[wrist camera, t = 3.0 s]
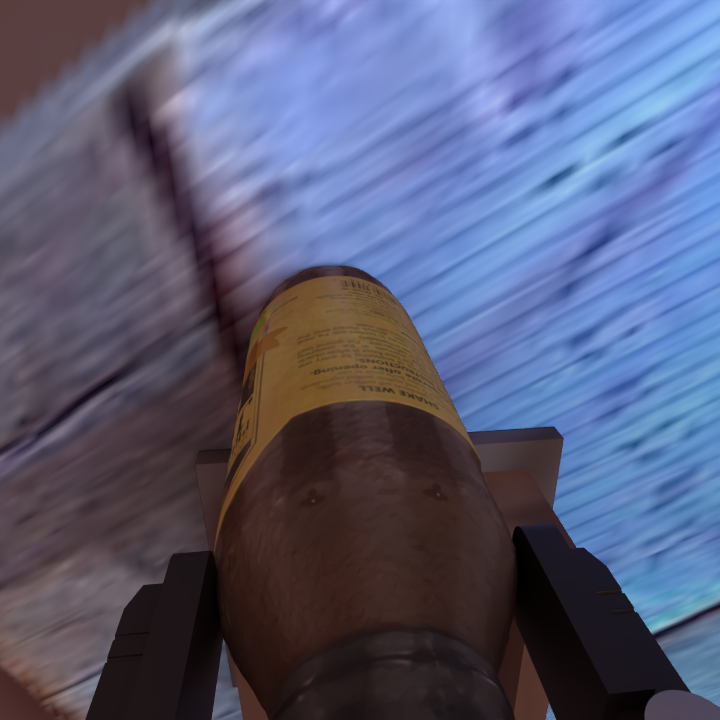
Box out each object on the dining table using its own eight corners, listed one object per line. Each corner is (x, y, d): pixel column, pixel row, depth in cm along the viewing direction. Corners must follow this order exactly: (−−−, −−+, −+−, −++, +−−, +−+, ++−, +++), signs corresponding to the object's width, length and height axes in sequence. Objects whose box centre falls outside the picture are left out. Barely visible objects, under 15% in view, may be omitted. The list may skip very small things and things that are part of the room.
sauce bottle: (231, 286, 21) (-155, 1260, 3) (387, 239, 21) (880, 999, 3) (284, 423, 24) (233, 1371, 6) (423, 383, 24) (800, 1234, 6)
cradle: (554, 426, 26) (623, 513, 20) (523, 640, 31) (569, 752, 26) (198, 451, 24) (169, 551, 19) (234, 669, 30) (220, 794, 25)
